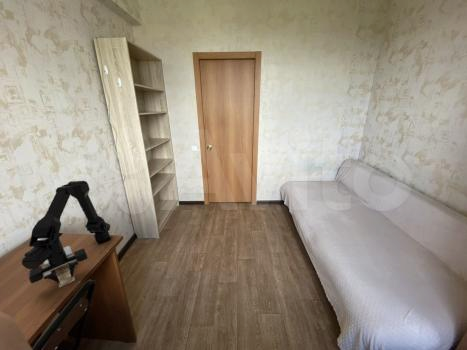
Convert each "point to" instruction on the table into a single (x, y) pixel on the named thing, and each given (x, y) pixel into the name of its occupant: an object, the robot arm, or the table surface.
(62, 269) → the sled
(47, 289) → the table surface
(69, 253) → the tunnel
